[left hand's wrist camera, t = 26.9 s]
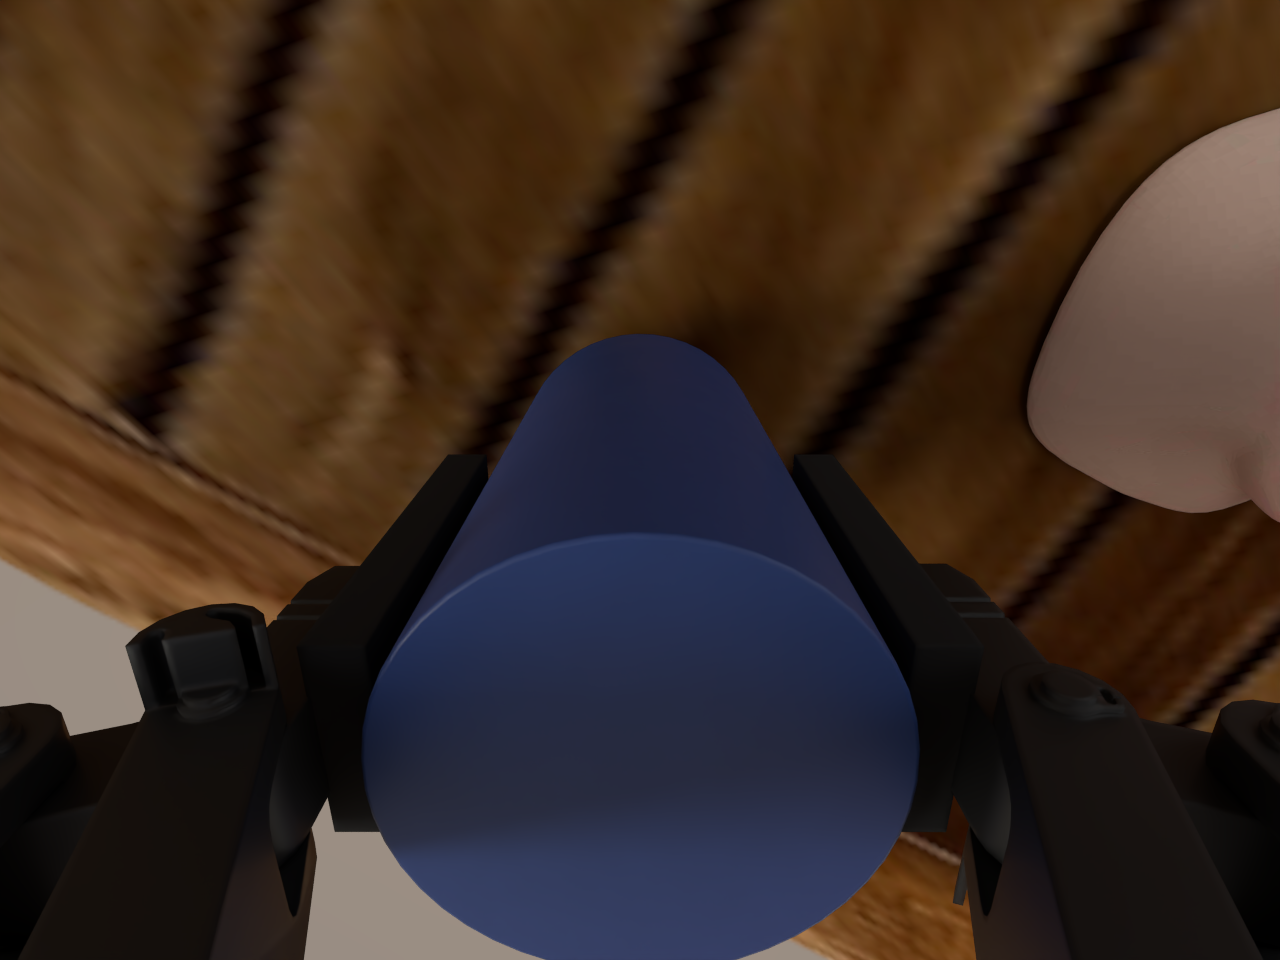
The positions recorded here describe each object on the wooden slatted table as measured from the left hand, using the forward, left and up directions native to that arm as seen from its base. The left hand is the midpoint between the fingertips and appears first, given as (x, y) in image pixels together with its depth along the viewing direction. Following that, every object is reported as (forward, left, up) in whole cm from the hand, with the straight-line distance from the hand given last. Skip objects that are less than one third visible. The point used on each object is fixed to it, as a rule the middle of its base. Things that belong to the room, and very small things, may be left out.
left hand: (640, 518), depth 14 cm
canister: (0, 0, -5) cm, 5 cm away
